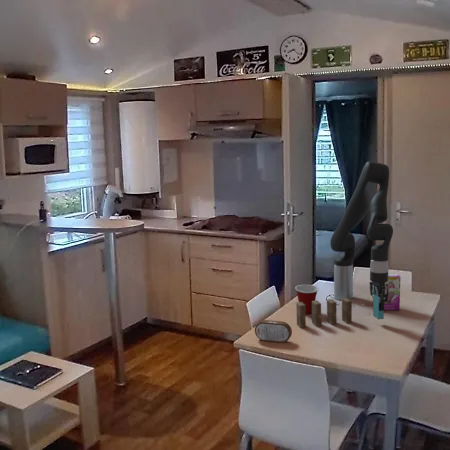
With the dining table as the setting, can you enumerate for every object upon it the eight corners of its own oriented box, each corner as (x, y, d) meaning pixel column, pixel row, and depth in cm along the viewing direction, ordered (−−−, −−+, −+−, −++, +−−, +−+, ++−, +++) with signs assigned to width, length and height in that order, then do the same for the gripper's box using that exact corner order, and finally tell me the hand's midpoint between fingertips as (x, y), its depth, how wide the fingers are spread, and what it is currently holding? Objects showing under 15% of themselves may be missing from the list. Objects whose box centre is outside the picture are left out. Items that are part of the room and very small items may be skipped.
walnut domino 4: (346, 323, 246) (346, 301, 244) (342, 319, 251) (342, 298, 249) (351, 323, 246) (351, 300, 245) (347, 319, 251) (347, 297, 249)
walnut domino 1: (300, 328, 242) (300, 305, 240) (296, 324, 247) (296, 302, 245) (305, 327, 242) (305, 305, 241) (302, 323, 247) (301, 301, 246)
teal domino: (378, 319, 240) (378, 296, 238) (373, 315, 244) (373, 293, 243) (383, 318, 240) (384, 296, 238) (378, 315, 245) (378, 293, 243)
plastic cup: (303, 317, 256) (303, 291, 254) (291, 311, 265) (290, 286, 263) (323, 313, 260) (323, 288, 258) (310, 307, 270) (310, 283, 268)
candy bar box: (375, 310, 262) (375, 276, 259) (373, 307, 266) (374, 273, 264) (400, 310, 260) (400, 276, 258) (398, 307, 265) (398, 273, 263)
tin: (292, 341, 227) (291, 321, 226) (290, 344, 224) (290, 323, 223) (256, 338, 232) (255, 318, 231) (254, 340, 229) (253, 321, 228)
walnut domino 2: (315, 326, 243) (315, 304, 242) (312, 322, 248) (311, 300, 246) (321, 326, 244) (321, 303, 242) (317, 322, 249) (317, 300, 247)
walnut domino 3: (331, 325, 244) (331, 302, 243) (327, 321, 249) (327, 299, 248) (336, 324, 245) (336, 302, 243) (332, 320, 250) (332, 299, 248)
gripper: (395, 273, 232) (394, 313, 235) (379, 265, 246) (379, 303, 249) (378, 274, 231) (377, 314, 234) (363, 266, 245) (363, 304, 248)
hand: (378, 308), depth 242 cm, fingers closed on teal domino, 5 cm apart
